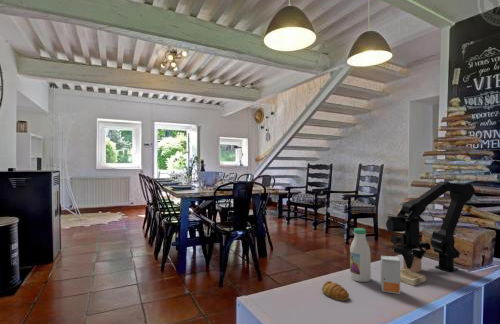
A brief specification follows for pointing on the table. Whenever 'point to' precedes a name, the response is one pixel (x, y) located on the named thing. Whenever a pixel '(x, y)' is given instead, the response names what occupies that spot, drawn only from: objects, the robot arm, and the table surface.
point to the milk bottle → (360, 257)
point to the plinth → (411, 277)
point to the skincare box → (390, 274)
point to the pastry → (335, 291)
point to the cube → (414, 265)
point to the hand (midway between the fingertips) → (412, 267)
